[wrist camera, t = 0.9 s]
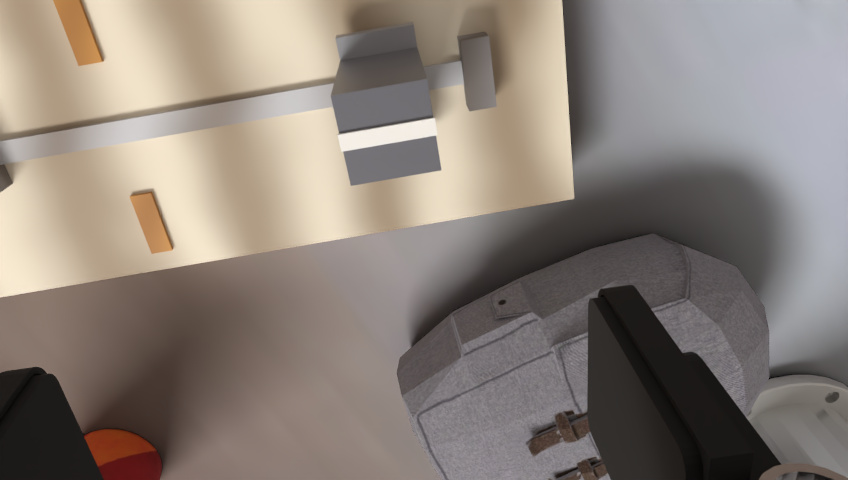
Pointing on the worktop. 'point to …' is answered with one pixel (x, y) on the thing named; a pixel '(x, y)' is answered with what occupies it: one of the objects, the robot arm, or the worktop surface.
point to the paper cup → (124, 455)
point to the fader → (383, 106)
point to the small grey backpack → (567, 358)
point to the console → (252, 128)
